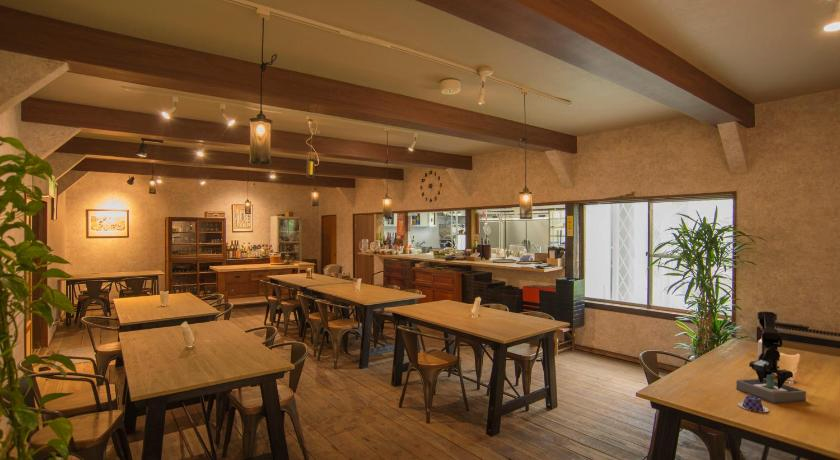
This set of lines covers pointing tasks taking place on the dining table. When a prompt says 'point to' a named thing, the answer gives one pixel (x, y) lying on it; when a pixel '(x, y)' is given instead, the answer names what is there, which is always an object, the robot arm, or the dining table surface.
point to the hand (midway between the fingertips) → (770, 385)
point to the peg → (770, 382)
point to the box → (771, 391)
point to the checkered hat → (753, 404)
